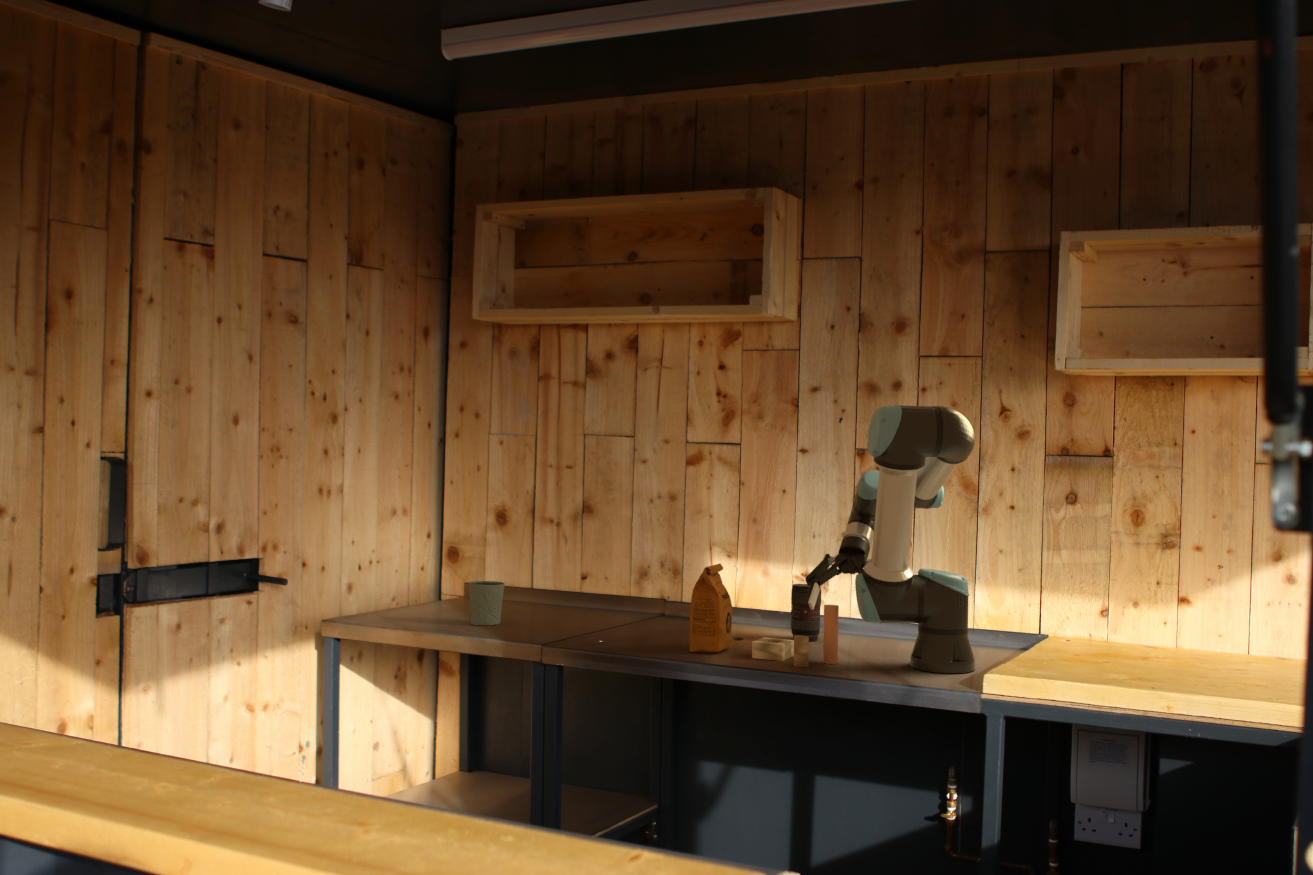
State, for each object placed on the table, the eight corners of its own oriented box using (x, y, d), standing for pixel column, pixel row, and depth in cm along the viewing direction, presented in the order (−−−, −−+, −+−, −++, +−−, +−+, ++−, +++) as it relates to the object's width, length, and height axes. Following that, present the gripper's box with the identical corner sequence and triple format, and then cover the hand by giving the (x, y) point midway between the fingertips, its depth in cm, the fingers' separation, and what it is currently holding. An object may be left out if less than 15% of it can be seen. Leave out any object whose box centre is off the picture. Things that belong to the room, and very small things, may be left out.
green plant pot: (463, 622, 326) (463, 581, 326) (494, 620, 331) (495, 579, 331) (477, 627, 317) (478, 585, 317) (509, 624, 323) (510, 583, 323)
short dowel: (810, 665, 268) (810, 636, 268) (805, 667, 265) (805, 638, 265) (796, 663, 270) (797, 634, 270) (791, 666, 267) (791, 636, 267)
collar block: (793, 656, 280) (793, 640, 280) (782, 660, 273) (782, 644, 273) (764, 652, 284) (764, 637, 284) (752, 657, 277) (752, 641, 277)
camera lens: (819, 642, 300) (820, 587, 300) (789, 641, 302) (790, 586, 302) (821, 638, 308) (822, 583, 308) (792, 636, 310) (792, 582, 310)
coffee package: (738, 648, 290) (739, 563, 290) (719, 656, 278) (721, 568, 279) (702, 645, 294) (704, 561, 294) (683, 652, 283) (684, 565, 283)
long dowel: (839, 662, 272) (840, 605, 272) (835, 664, 269) (835, 606, 269) (825, 661, 274) (826, 604, 274) (821, 663, 271) (822, 605, 271)
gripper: (906, 556, 287) (888, 621, 274) (814, 550, 299) (793, 613, 286) (900, 536, 283) (882, 602, 269) (807, 532, 295) (785, 595, 281)
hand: (836, 608), depth 278 cm, fingers open, 13 cm apart
